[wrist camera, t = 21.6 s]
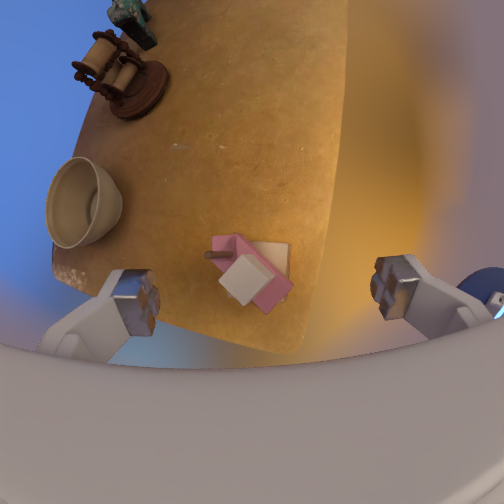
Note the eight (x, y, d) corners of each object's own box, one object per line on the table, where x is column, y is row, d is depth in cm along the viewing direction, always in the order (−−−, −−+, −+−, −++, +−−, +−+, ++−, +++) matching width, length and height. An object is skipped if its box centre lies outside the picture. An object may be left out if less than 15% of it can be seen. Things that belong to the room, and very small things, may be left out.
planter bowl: (73, 231, 52) (37, 227, 41) (98, 162, 50) (63, 149, 40) (119, 262, 49) (79, 264, 38) (149, 183, 47) (111, 169, 36)
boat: (294, 284, 36) (286, 298, 26) (270, 309, 37) (252, 331, 26) (231, 224, 38) (199, 214, 28) (209, 250, 39) (171, 249, 28)
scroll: (138, 64, 49) (88, 20, 29) (184, 69, 46) (134, 11, 27) (106, 116, 50) (45, 81, 31) (148, 128, 47) (81, 83, 28)
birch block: (291, 244, 42) (288, 243, 37) (287, 297, 42) (283, 302, 37) (239, 241, 43) (230, 239, 38) (236, 292, 43) (227, 296, 38)
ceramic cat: (162, 46, 48) (117, -4, 28) (139, 59, 49) (91, 15, 29) (155, 11, 49) (120, -30, 30) (135, 22, 50) (98, -16, 31)
